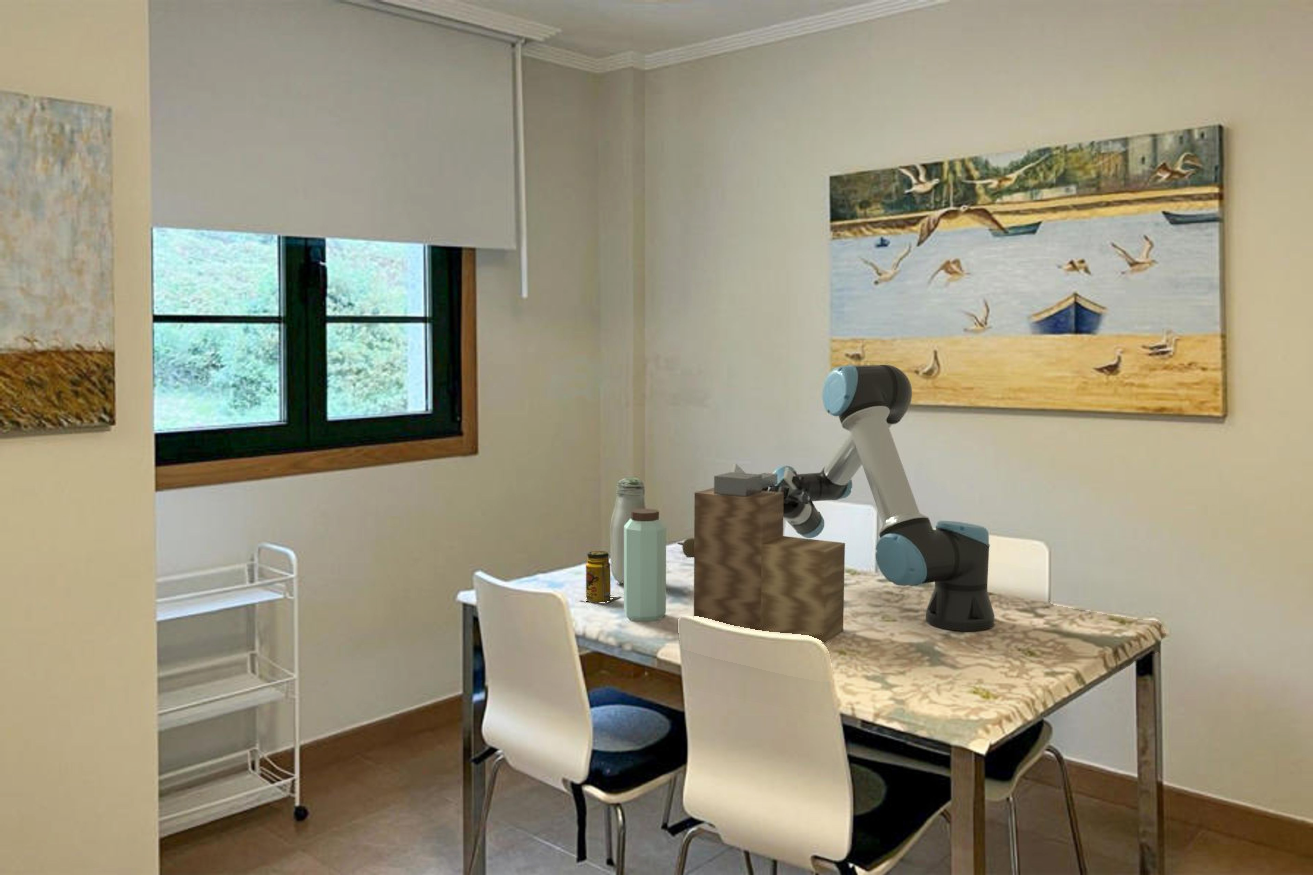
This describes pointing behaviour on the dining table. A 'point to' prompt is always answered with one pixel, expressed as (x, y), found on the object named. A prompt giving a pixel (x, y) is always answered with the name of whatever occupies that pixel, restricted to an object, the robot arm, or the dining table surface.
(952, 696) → the dining table surface
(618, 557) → the glass bottle
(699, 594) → the stepped stand
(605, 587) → the condiment
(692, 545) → the kendama
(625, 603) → the water bottle
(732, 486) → the grey t-shaped block
